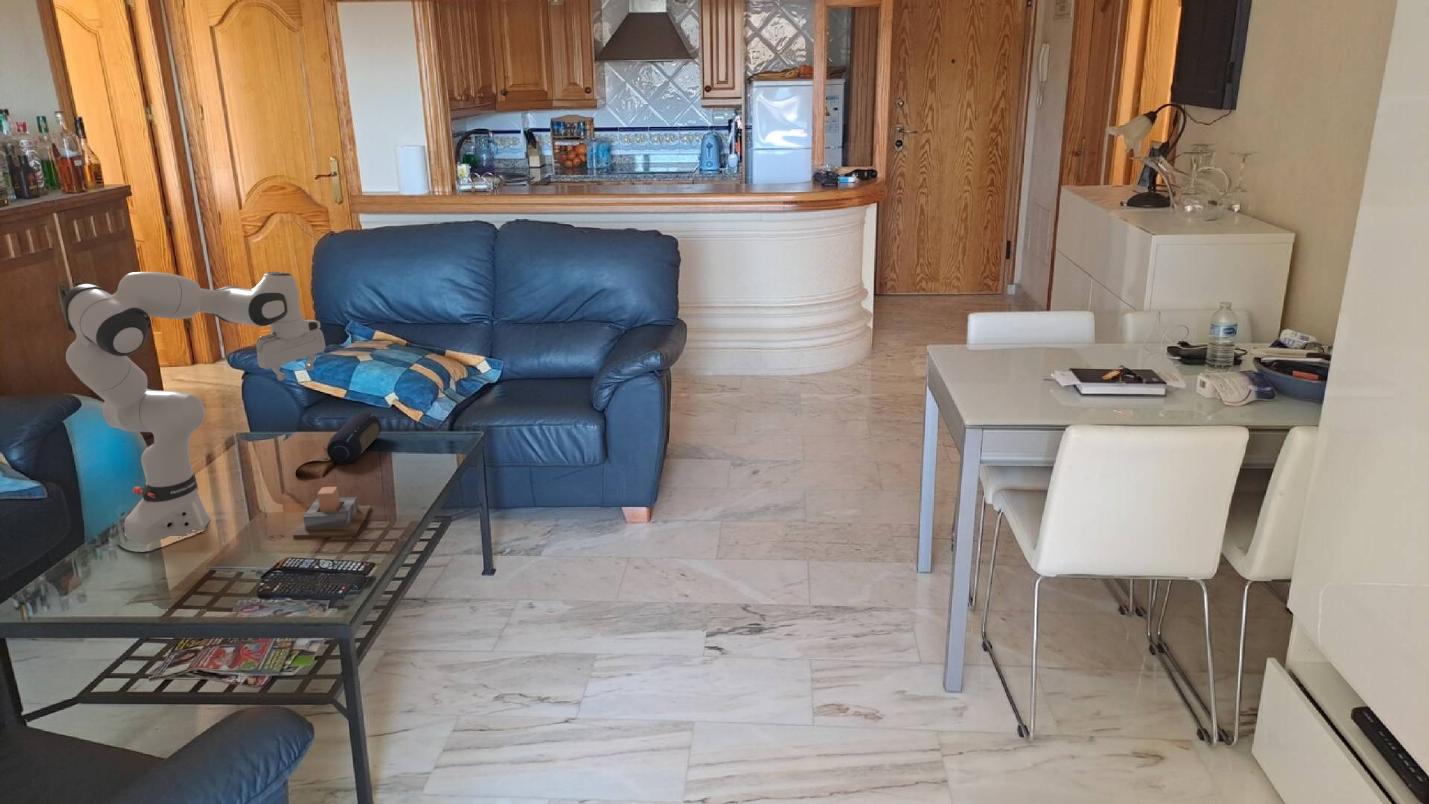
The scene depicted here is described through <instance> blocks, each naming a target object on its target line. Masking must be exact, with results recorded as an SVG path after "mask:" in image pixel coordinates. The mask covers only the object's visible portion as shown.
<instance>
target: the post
mask: <svg viewBox="0 0 1429 804" xmlns="http://www.w3.org/2000/svg"><path fill="white" fill-rule="evenodd" d="M317 498H318V500H319V506H320V511H321V512H336V511H339V510H340V508H341V506H340V500H339V498H340V495H339V490H338V486H324V487H323V486H322V487H321V488H320V490H319V491H317Z"/></svg>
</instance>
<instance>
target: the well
mask: <svg viewBox="0 0 1429 804" xmlns="http://www.w3.org/2000/svg"><path fill="white" fill-rule="evenodd" d="M339 500H340V506H341V508H340V510H339V511H336V512H321V511H320V506H319V500H318V497H317V498H316V499H315V500H314V502H313V503H312V504H311V506H310V507H309V508H308V510H307V511H306V513H305V514H304V515H303V516H302V517H303V521H302V522H301V523H300V524H299V526H298V528H297V529H296V530H295V532H294V533H293V534H292V537H293V539H311V538H312V539H314V538H338V537H339V538H341V537H355V536H357V533H358V531H359V529H360V528H361V526H362V525H363V523H364V521H366V518H367V517H368V514H369V513H370V511H371V510H372V506H371V505H359V501H358V496H352V497H351V496H350V497H349V496H348V497H339Z"/></svg>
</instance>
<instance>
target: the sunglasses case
mask: <svg viewBox="0 0 1429 804" xmlns="http://www.w3.org/2000/svg"><path fill="white" fill-rule="evenodd" d="M336 464H337V463H336V462H335V461H333V460H332V459H331V458H330V457H329V456H328V453H327V447H324V445H323V446H321V448H319V449H318V450H317V451H316V452H314V453H313V454H312V455H311V456H310V457H308V458H307V459H306V460H305V461H304V462H303V463H302V464H301V465H299V466H298V467H296V468H297V469H296V470H295V473H294V474H295V477H296V479H323V478H324V477H325V476H326V474H327V473H329V471H330V470H331V469H333V467H334V466H335V465H336Z"/></svg>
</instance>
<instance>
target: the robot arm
mask: <svg viewBox="0 0 1429 804" xmlns="http://www.w3.org/2000/svg"><path fill="white" fill-rule="evenodd" d="M62 309H63V312H64V316H65V319H66V323H67V328H68V330H69V331H70V332H72V333H75V335H76V338H75V340H74V341H72V343H70V345H69V346H68V347H67V350H66V352H65V361H66V363H67V365H68V366H69V368H70V370H71V371H72V372H73V373H74V374H75V375H76V377H77V378H78V379H79V380H80V381H81V382H82V383H83V384H84V385H85V386H86V387H88V388H89V389H90V390H91V391H93V392H94V393H95V395H97V396H99V397H100V398H101V399H102V400H103V401H104V402H103V404H102V415H103V418H104V420H105V423H106V424H107V425H108V426H109V427H110V428H115V429H119V430H121V431H126V432H131V433H133V432H134V433H135V432H136V433H137V432H138V433H151V434H152V435H153V443H152V444H151V445H149V446H148V447H146V449H144V451H143V452H142V453H141V457H140V461H141V465H142V470H143V474H144V478H145V483H144V484H145V485H144V488H143V487H140V486H137V485H136V486H134V487H133V489H132V493H133V494H135V495H138V496H142V498H141V499H140V501H139V502H138V503H137V505H136V506H134V508H133V509H132V511H131V512H130V513H129V514H128V515H127V516H126V517H125V519H124V534H125V536H126V537H127V538H128V539H130V540H132V541H134V542H138V543H142V544H149V543H151V542H156V541H159V540H161V539H165V538H167V537H169V536H182V537H183V536H187V535H188V534H191V533H196V532H198V531H202V530H205V531H206V526H207V525H208V524H209V523H210V521H211V518H210V516H209V515H208V513H207V511H206V509H205V507H204V505H203V502H202V500H201V498H200V495H199V493H198V492H199V491H198V490H199V489H198V487H199V486H198V483H197V478H196V474H195V472H194V471H193V469H192V465H191V459H190V458H191V457H190V453H189V445H190V440H191V436H192V434H193V433H194V432H195V431H196V430H197V429H198V428H199V427H200V426H201V425H202V423H203V422H204V419H205V415H206V413H205V412H206V410H205V406H204V403H203V401H202V399H201V398H200V397H199V396H198V395H196V394H192V393H189V392H188V393H187V392H184V391H179V390H156V389H155V390H154V389H150V388H148V376H147V374H146V373H145V371H143V370H142V369H141V368H140V367H139V366H138V365H137V364H136V363H134V361H132V360H131V358H129V356H130V355H132V354H134V353H136V352H138V350H140V348H141V347H142V346H143V345H144V343H146V342H145V341H146V340H147V338H148V334H149V330H150V329H151V326H152V322H151V317H153V318H161V319H171V320H180V319H181V320H182V319H191V318H194V317H195V316H196V315H197V314H198V313H205V314H211V315H213V316H215V317H216V318H217V319H219V320H221V321H223V322H224V323H230V324H242V325H246V326H255V327H266V326H269V327H270V332H269V333H268V334H265V335H260V336H259V337H258V339H257V340H256V342H255V347H256V359H257V360H256V361H257V365H258V366H259V368H261V369H264V370H272V372H273V373H274V374H276V377H277V378H276V379H277V381H281V382H282V381H284V380H286V373H285V372H282V371H281V366H283V365H287V364H289V363H291V362H295V361H298V360H301V359H304V358H307V362H306V364H304V368H305V371H308V372H310V371H311V372H312V371H313V370H314V362H315V360H316V355H317V354H319V353H323V352H324V351H325V349H326V341H325V337H324V336H325V335H324V333H323V330H322V329H320V328H321V322H320V321H319V320H315V319H309V318H308V319H307V318H304V316H303V312H302V311H301V298H300V293H299V289H298V284H297V282H296V279H295V278H294V276H293V275H292V274H290V273H288V272H284V271H282V272H281V271H280V272H279V271H269V272H265V273H263V276H262V278H261V280H260V281H259V283H257V285H256V286H254V287H253V288H244V287H243V288H242V287H239V286H236V285H235V286H234V285H226V286H223V287H220V288H216V289H207V288H201V286H200V284H199V283H198V282H197V281H196V280H193V279H192V278H189V277H186V276H182V275H179V274H175V273H168V272H167V273H165V272H158V271H157V272H156V271H137V272H136V271H135V272H129V273H127V274H126V275H124V276H123V277H122V278H121V280H119V283H118V286H117V290H116V291H115V292H114V293H113V294H111V293H110V291H108V290H107V289H105V288H103V287H101V286H97V285H96V284H90V283H83V284H79V285H76V286H74V287H72V288H71V289H69V291H68V292H66V294H65V296H64V298H63V300H62ZM208 522H209V523H208ZM206 524H207V525H206ZM205 525H206V526H205ZM192 530H196V531H194V532H193V531H192ZM187 533H188V534H187ZM178 538H180V537H178Z"/></svg>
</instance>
